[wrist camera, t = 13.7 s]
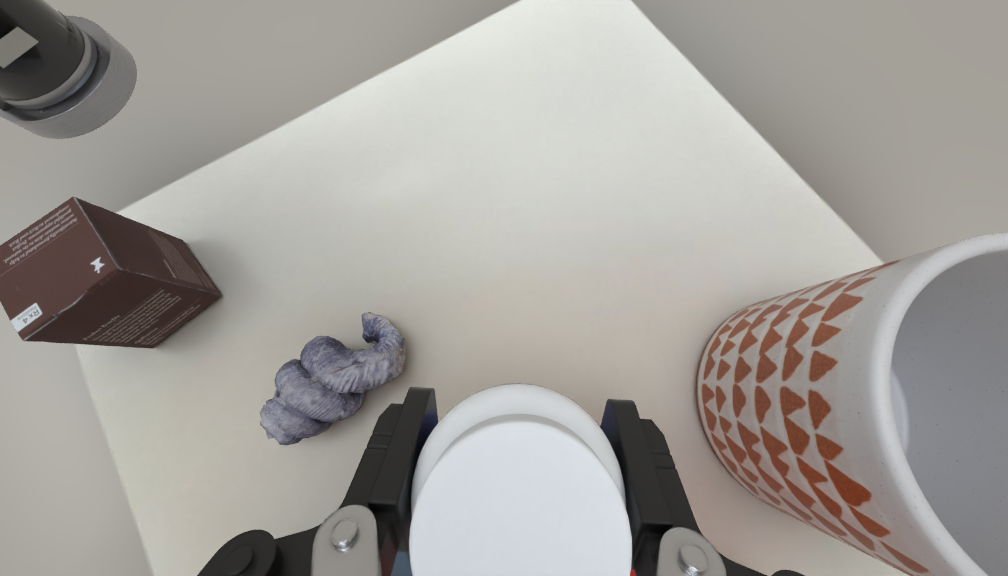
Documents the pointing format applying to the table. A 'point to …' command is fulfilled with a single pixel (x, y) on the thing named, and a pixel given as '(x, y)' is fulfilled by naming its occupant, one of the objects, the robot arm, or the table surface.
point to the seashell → (331, 381)
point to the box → (99, 280)
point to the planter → (877, 407)
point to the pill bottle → (518, 491)
